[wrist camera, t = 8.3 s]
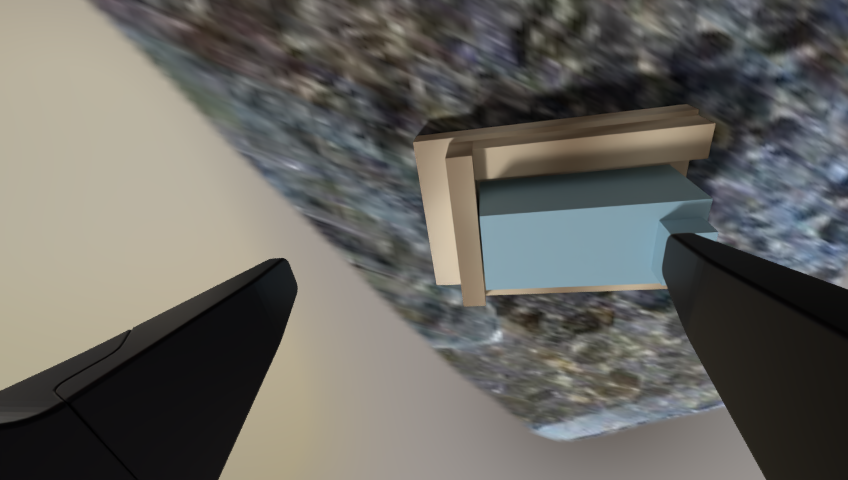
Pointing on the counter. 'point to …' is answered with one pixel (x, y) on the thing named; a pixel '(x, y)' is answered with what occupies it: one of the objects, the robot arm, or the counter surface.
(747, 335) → the robot arm
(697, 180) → the counter surface
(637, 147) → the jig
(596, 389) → the counter surface
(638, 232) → the blue stepped block
